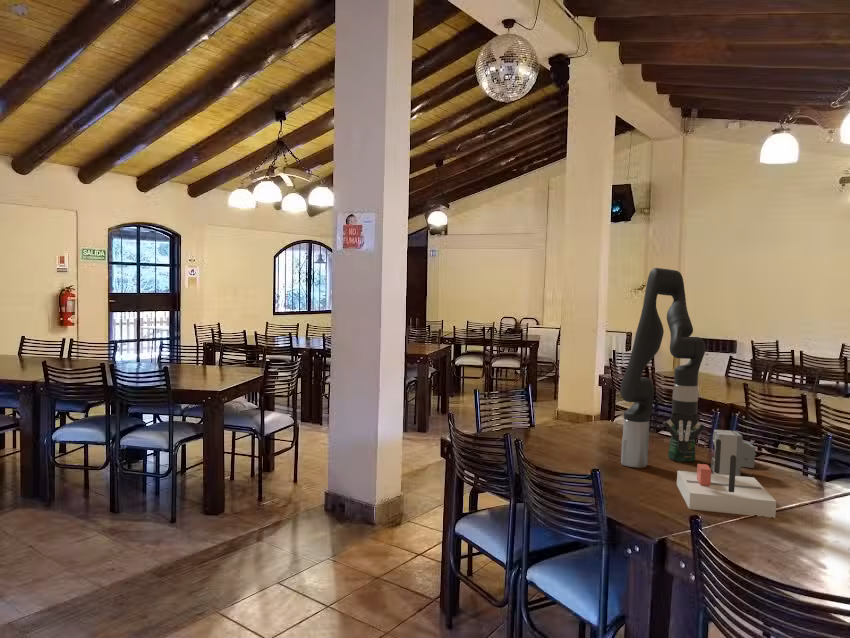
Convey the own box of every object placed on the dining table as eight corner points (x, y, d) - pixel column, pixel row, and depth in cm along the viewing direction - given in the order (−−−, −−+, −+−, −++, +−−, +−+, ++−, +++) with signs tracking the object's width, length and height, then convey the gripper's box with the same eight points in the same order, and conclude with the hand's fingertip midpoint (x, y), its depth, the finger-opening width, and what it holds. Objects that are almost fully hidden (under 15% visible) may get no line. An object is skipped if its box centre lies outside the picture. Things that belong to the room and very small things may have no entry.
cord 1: (714, 472, 212) (716, 439, 211) (713, 471, 214) (715, 438, 213) (719, 473, 212) (721, 440, 211) (718, 471, 213) (720, 439, 213)
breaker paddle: (700, 484, 202) (701, 468, 202) (696, 478, 208) (697, 463, 207) (710, 485, 201) (711, 469, 201) (706, 479, 207) (707, 464, 207)
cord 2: (729, 492, 193) (731, 455, 192) (727, 490, 194) (730, 454, 194) (734, 492, 192) (737, 456, 192) (733, 490, 194) (735, 454, 193)
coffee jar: (676, 463, 244) (679, 415, 243) (664, 457, 252) (667, 411, 251) (699, 462, 246) (701, 415, 245) (686, 456, 254) (689, 410, 253)
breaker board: (689, 509, 194) (690, 492, 194) (676, 484, 218) (677, 470, 217) (775, 517, 189) (776, 501, 189) (753, 492, 212) (753, 477, 212)
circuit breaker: (758, 478, 228) (761, 437, 227) (715, 474, 231) (718, 434, 230) (752, 472, 235) (754, 432, 234) (710, 469, 238) (713, 429, 237)
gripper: (664, 399, 202) (662, 453, 203) (709, 402, 199) (706, 456, 200) (661, 395, 210) (659, 447, 210) (704, 398, 207) (702, 450, 208)
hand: (682, 451), depth 205 cm, fingers closed
